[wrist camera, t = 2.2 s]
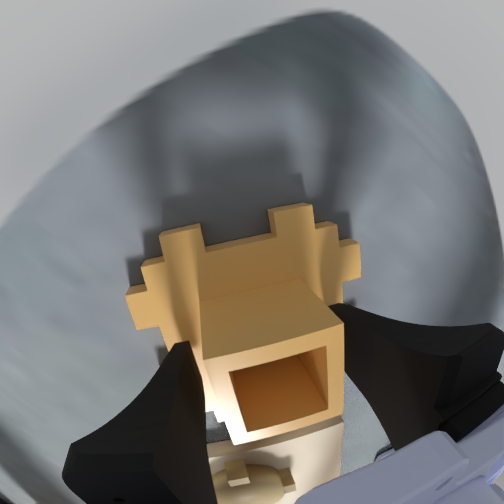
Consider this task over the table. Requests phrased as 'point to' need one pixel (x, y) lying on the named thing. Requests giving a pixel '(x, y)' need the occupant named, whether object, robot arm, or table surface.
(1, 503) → the storage jar
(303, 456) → the carrier plate
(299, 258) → the gear
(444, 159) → the table surface
